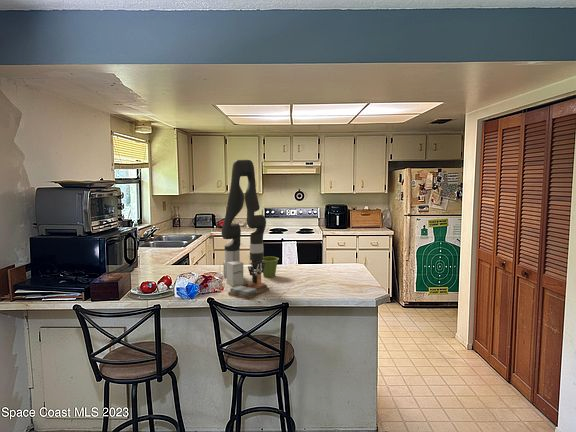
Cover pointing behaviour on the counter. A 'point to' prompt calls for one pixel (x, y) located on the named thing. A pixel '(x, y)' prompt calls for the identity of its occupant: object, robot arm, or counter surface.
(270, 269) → the plant pot
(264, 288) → the ticket board
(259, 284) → the stub
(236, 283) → the supplement box
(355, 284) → the counter surface
